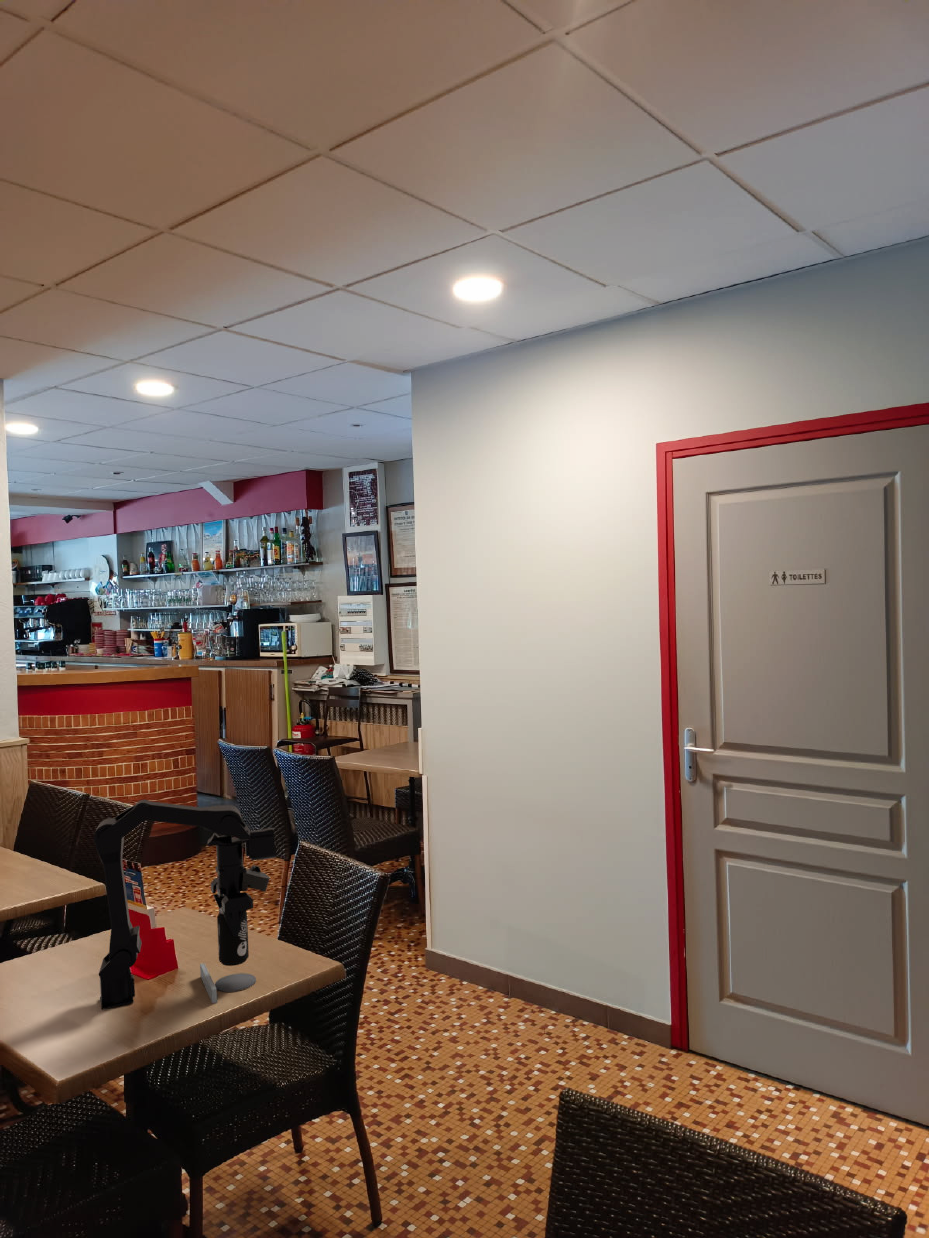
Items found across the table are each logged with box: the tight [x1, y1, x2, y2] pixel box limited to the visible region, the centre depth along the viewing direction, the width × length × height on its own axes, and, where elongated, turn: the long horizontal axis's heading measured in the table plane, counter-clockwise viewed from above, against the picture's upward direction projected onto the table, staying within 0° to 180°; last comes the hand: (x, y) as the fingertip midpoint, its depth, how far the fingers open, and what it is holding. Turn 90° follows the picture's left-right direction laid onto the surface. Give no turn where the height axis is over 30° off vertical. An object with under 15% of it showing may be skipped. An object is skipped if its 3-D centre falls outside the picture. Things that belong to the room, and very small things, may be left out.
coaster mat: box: [214, 972, 257, 993], centre depth 204 cm, size 9×9×1 cm
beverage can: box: [216, 908, 249, 967], centre depth 204 cm, size 7×7×12 cm
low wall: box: [199, 962, 218, 1004], centre depth 202 cm, size 1×16×3 cm, turn 25°
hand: (232, 931), depth 204 cm, fingers closed on beverage can, 6 cm apart
